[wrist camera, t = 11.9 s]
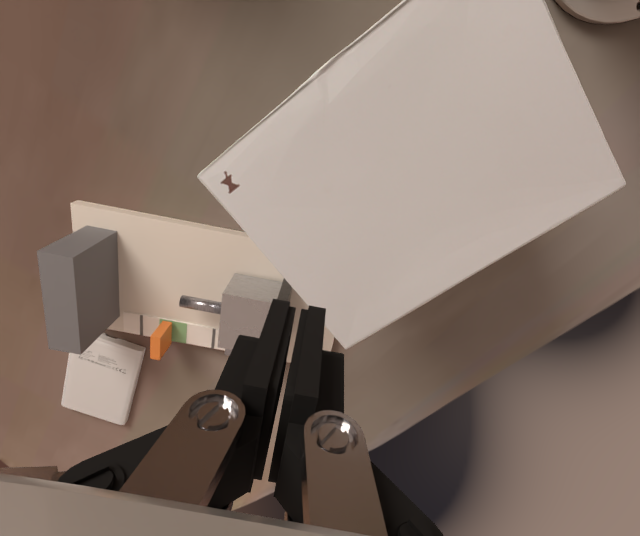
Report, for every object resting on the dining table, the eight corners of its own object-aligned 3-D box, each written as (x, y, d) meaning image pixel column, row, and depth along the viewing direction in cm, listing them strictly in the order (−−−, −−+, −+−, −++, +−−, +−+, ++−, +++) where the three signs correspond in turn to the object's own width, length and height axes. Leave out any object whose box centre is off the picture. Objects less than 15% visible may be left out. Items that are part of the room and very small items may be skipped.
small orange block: (172, 322, 43) (160, 338, 40) (171, 343, 44) (159, 360, 41) (162, 320, 42) (150, 336, 40) (162, 341, 44) (150, 358, 41)
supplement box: (343, 249, 40) (342, 358, 24) (259, 138, 36) (187, 176, 20) (502, 144, 35) (641, 188, 19) (424, 3, 31) (514, -99, 15)
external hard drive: (67, 396, 51) (79, 321, 46) (130, 416, 52) (148, 344, 47) (59, 405, 49) (71, 328, 45) (123, 426, 50) (142, 353, 45)
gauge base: (352, 252, 40) (354, 289, 33) (327, 362, 46) (323, 415, 38) (78, 200, 39) (15, 224, 32) (86, 318, 45) (35, 363, 38)
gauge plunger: (293, 279, 40) (286, 306, 35) (280, 356, 44) (272, 390, 39) (191, 260, 40) (169, 284, 35) (187, 339, 44) (166, 371, 39)
